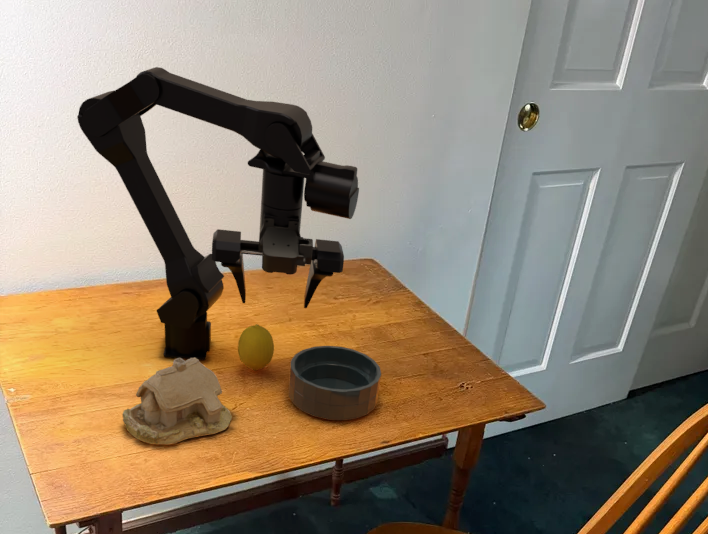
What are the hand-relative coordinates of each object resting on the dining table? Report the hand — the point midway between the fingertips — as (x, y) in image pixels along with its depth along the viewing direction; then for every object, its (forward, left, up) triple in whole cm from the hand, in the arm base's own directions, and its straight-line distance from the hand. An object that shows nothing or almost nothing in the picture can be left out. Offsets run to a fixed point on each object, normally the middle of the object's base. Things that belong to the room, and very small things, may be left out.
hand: (274, 304), depth 119 cm
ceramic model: (-12, -17, -11) cm, 24 cm away
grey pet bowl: (+10, -8, -11) cm, 17 cm away
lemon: (-2, -1, -11) cm, 12 cm away
